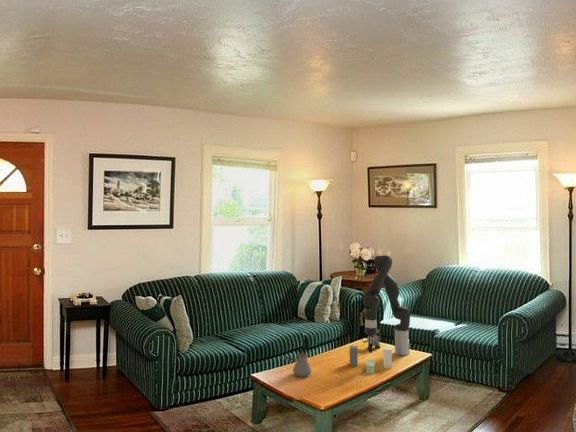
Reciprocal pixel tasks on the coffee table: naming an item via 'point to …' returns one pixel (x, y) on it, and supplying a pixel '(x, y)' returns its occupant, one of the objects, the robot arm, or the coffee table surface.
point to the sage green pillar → (370, 366)
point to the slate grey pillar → (353, 355)
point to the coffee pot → (301, 365)
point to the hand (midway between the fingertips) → (370, 352)
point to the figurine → (374, 341)
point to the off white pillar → (387, 357)
